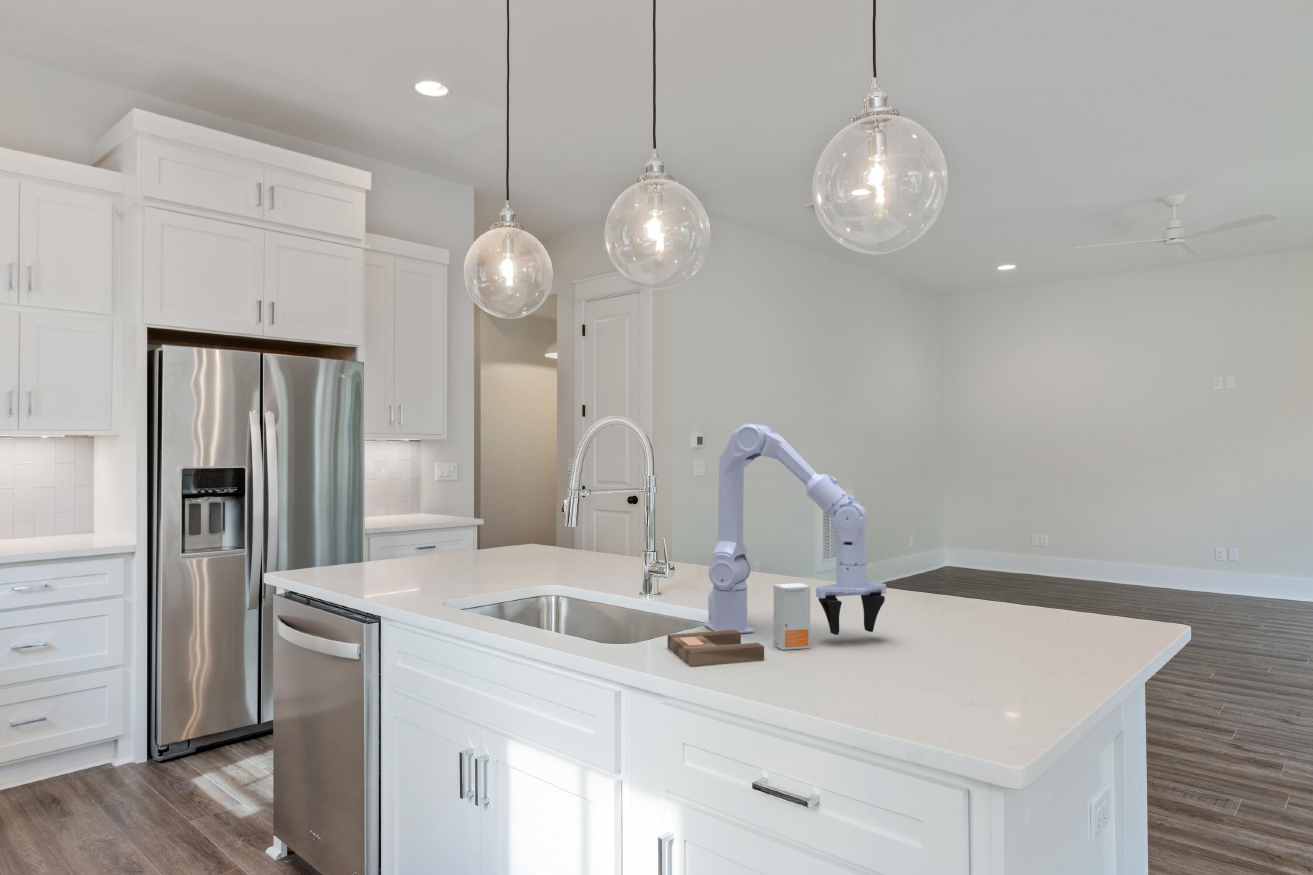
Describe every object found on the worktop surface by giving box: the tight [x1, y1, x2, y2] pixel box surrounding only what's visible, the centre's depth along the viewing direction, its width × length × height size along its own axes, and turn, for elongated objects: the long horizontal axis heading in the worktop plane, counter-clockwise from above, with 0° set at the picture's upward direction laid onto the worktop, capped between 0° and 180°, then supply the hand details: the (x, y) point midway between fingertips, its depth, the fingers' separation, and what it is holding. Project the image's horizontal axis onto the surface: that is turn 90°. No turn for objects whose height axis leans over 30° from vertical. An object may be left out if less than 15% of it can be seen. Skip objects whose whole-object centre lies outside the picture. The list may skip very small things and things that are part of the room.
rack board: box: [667, 630, 765, 668], centre depth 146 cm, size 14×14×3 cm
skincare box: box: [773, 582, 811, 651], centre depth 151 cm, size 6×4×12 cm
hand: (851, 632), depth 154 cm, fingers open, 7 cm apart
